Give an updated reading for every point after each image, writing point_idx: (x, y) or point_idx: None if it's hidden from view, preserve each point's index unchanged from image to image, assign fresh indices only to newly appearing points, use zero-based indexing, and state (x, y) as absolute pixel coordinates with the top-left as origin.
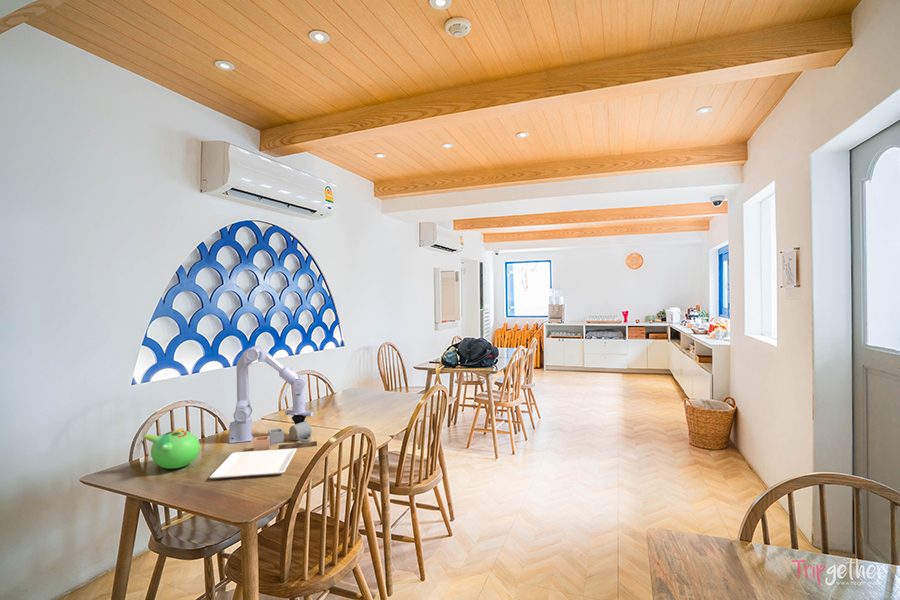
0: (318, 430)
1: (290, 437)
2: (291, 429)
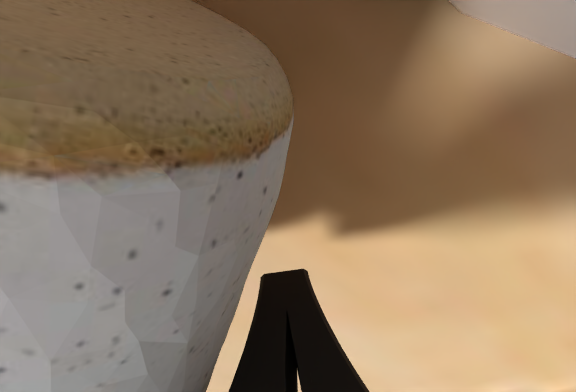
0: (218, 385)
1: (216, 13)
2: (39, 21)
